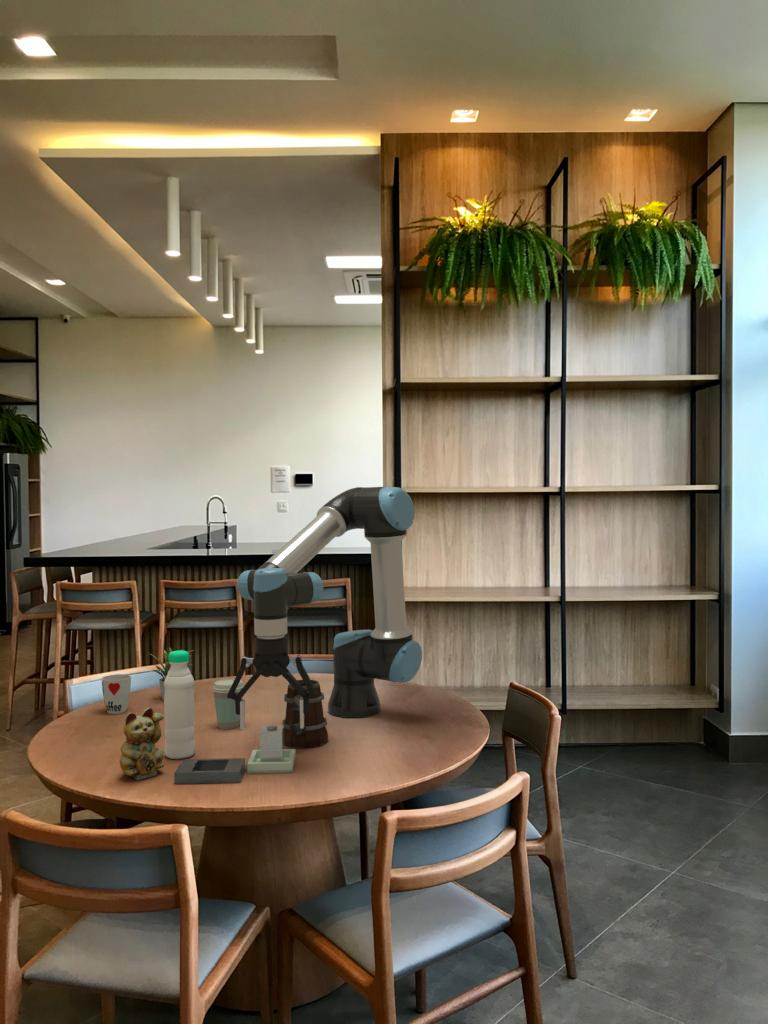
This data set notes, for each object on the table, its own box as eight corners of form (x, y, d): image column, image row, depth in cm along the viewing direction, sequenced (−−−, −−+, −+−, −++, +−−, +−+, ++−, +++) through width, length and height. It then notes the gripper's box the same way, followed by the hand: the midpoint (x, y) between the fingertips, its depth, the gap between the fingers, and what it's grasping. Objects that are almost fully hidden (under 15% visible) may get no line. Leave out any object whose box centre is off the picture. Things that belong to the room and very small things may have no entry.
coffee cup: (237, 731, 211) (237, 686, 210) (207, 729, 212) (207, 685, 212) (249, 722, 219) (249, 679, 219) (220, 720, 221) (220, 677, 221)
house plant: (208, 697, 247) (207, 645, 247) (174, 707, 235) (173, 652, 235) (176, 691, 255) (175, 640, 254) (141, 701, 243) (141, 647, 243)
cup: (95, 713, 229) (95, 679, 229) (115, 706, 237) (114, 673, 236) (118, 716, 226) (118, 681, 226) (137, 709, 234) (137, 675, 233)
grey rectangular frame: (245, 768, 182) (245, 758, 182) (239, 782, 173) (239, 771, 173) (183, 769, 181) (183, 759, 181) (174, 783, 172) (174, 772, 172)
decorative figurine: (130, 784, 172) (129, 715, 172) (110, 776, 177) (110, 709, 177) (169, 773, 179) (168, 706, 179) (149, 765, 185) (148, 700, 184)
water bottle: (179, 761, 187) (178, 655, 186) (158, 756, 190) (157, 652, 190) (201, 753, 193) (200, 650, 192) (180, 748, 196) (179, 647, 196)
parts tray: (295, 758, 189) (295, 749, 189) (292, 772, 179) (292, 763, 179) (253, 759, 188) (253, 749, 188) (247, 773, 178) (247, 764, 178)
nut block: (284, 759, 186) (283, 724, 186) (282, 766, 181) (282, 730, 181) (262, 759, 186) (262, 724, 186) (260, 767, 181) (259, 730, 181)
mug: (289, 733, 208) (288, 676, 208) (333, 736, 206) (333, 678, 206) (269, 752, 193) (268, 691, 193) (317, 755, 191) (317, 693, 190)
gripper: (325, 631, 187) (327, 721, 188) (219, 634, 186) (220, 724, 187) (324, 637, 180) (326, 731, 180) (213, 640, 179) (215, 733, 179)
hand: (272, 727), depth 183 cm, fingers open, 13 cm apart
